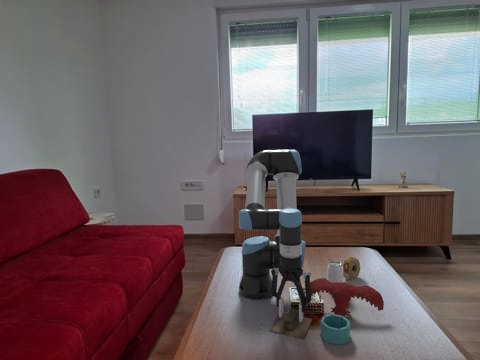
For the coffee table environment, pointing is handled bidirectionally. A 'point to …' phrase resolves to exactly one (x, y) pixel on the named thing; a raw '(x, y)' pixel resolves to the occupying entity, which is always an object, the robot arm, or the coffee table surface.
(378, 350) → the coffee table surface
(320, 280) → the decorative bird sculpture
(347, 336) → the teal bowl
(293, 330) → the walnut lid
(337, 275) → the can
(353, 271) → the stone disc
